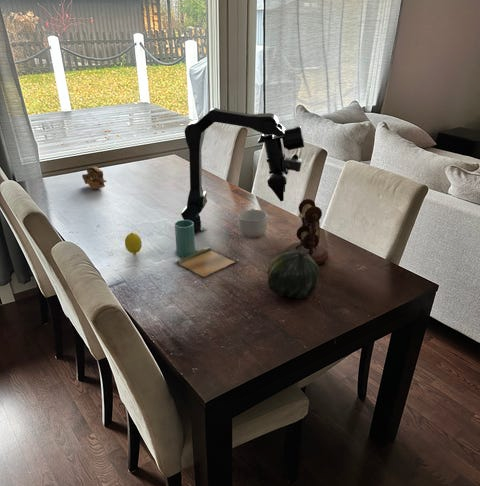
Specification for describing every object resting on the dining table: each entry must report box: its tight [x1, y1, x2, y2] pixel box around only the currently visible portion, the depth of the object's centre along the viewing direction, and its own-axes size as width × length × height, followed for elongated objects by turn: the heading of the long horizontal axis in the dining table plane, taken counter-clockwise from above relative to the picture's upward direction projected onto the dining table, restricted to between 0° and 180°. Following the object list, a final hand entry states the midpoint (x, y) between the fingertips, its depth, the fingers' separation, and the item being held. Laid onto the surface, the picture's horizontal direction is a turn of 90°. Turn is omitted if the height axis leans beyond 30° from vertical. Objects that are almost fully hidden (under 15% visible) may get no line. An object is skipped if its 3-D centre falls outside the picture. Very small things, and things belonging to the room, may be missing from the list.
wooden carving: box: [81, 166, 107, 190], centre depth 205 cm, size 16×5×10 cm, turn 55°
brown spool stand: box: [283, 198, 329, 265], centre depth 143 cm, size 15×15×20 cm
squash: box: [267, 251, 320, 300], centre depth 126 cm, size 14×15×15 cm
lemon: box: [124, 232, 143, 255], centre depth 148 cm, size 6×6×8 cm
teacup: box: [237, 207, 269, 238], centre depth 164 cm, size 14×11×8 cm
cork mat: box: [176, 246, 236, 278], centre depth 144 cm, size 13×14×1 cm
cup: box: [174, 219, 196, 258], centre depth 148 cm, size 6×6×11 cm
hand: (282, 196), depth 155 cm, fingers open, 9 cm apart
